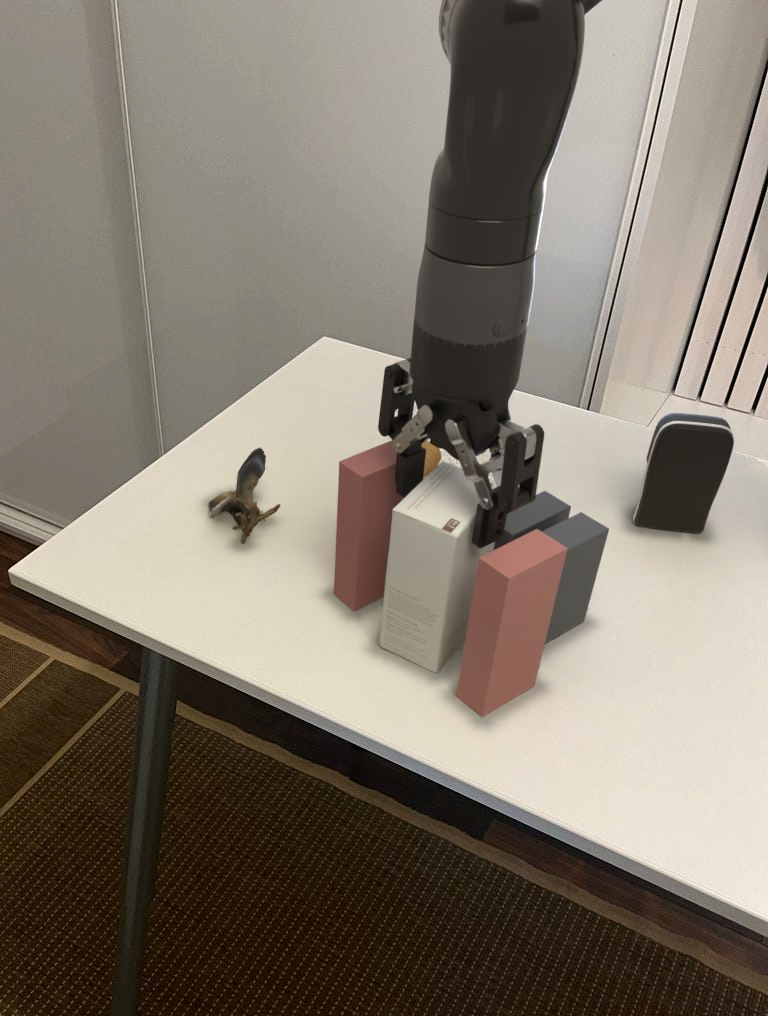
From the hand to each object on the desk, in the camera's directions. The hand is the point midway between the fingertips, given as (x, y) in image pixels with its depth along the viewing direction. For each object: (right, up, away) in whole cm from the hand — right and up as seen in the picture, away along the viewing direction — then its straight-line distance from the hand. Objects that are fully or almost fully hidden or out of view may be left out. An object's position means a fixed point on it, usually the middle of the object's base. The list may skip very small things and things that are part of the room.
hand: (445, 516), depth 75 cm
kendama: (-1, +3, +23) cm, 23 cm away
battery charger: (+25, +2, +22) cm, 33 cm away
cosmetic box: (0, -9, +9) cm, 13 cm away
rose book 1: (-5, -5, +13) cm, 15 cm away
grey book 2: (+10, -9, +9) cm, 16 cm away
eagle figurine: (-17, +2, +22) cm, 27 cm away
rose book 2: (+5, -14, +4) cm, 15 cm away
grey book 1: (+8, -6, +12) cm, 16 cm away
